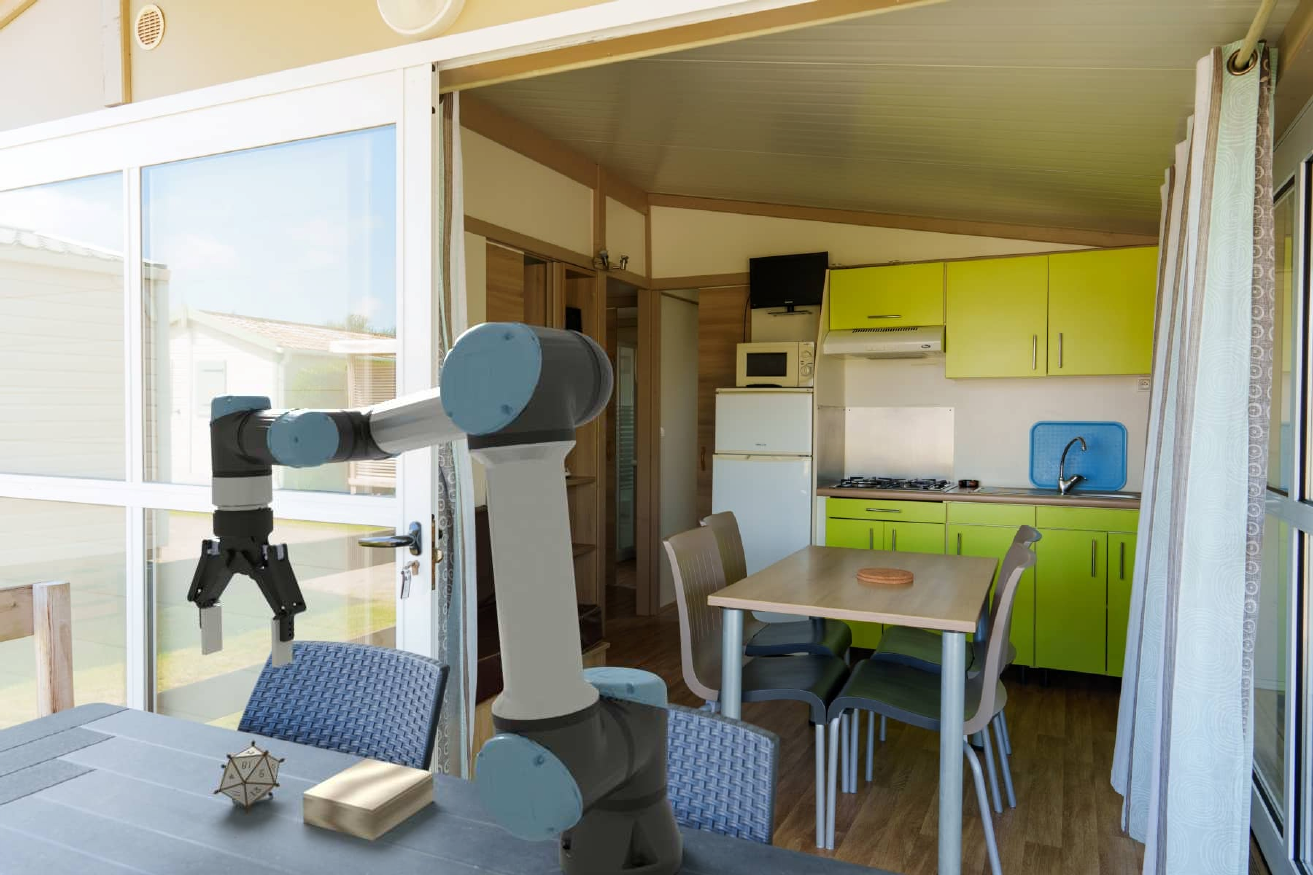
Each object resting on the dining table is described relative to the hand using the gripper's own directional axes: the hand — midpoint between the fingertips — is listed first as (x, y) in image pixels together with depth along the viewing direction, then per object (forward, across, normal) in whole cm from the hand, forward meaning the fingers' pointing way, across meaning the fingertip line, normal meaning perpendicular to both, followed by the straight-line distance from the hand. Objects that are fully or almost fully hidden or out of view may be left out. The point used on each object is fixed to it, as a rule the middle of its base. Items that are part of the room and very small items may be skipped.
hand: (246, 658), depth 118 cm
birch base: (+20, -17, -5) cm, 27 cm away
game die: (+21, 0, 0) cm, 21 cm away
